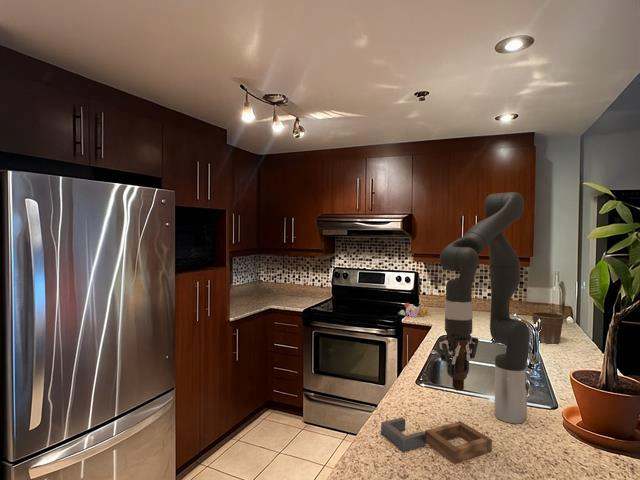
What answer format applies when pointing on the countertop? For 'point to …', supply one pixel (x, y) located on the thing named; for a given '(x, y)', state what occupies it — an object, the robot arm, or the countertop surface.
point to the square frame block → (456, 454)
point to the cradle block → (402, 435)
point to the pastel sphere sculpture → (414, 311)
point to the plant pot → (549, 327)
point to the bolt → (460, 366)
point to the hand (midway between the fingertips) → (458, 374)
